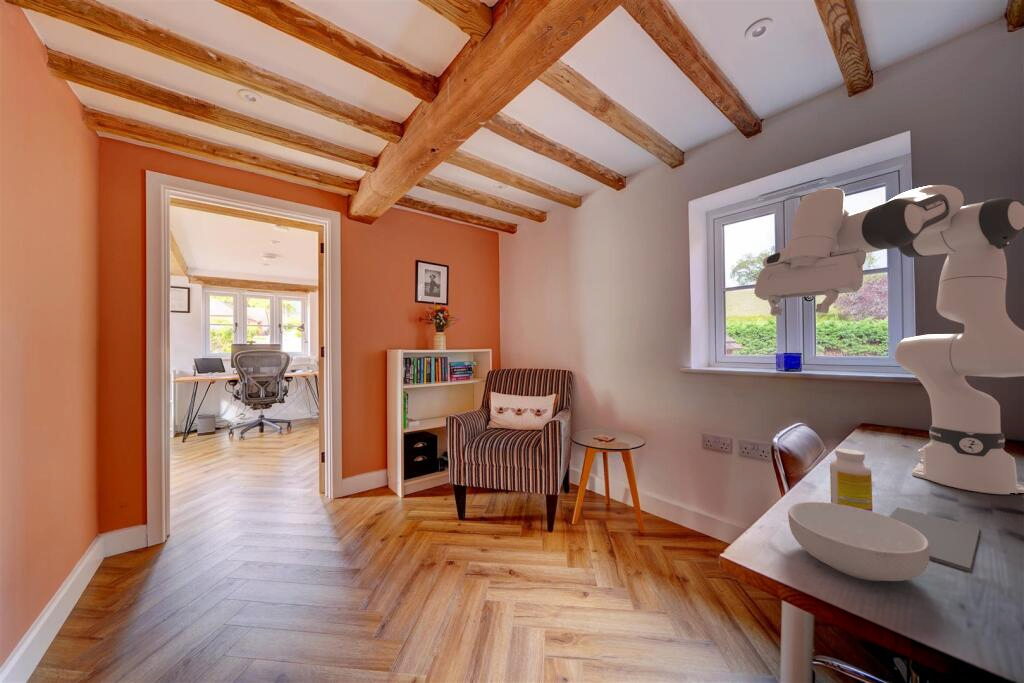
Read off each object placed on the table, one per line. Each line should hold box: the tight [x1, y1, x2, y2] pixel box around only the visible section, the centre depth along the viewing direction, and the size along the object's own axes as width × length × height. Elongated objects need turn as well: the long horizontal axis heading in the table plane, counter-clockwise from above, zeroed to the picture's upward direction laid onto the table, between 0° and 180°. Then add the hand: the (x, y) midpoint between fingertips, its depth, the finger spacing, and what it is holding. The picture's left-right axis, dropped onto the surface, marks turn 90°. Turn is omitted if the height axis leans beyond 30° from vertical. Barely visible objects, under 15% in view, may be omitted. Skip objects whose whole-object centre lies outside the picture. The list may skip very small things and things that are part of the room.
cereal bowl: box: [787, 501, 930, 582], centre depth 59 cm, size 17×17×7 cm
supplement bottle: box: [829, 448, 874, 512], centre depth 79 cm, size 7×7×13 cm
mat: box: [889, 506, 981, 573], centre depth 68 cm, size 22×11×1 cm, turn 125°
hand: (797, 314), depth 81 cm, fingers open, 8 cm apart
